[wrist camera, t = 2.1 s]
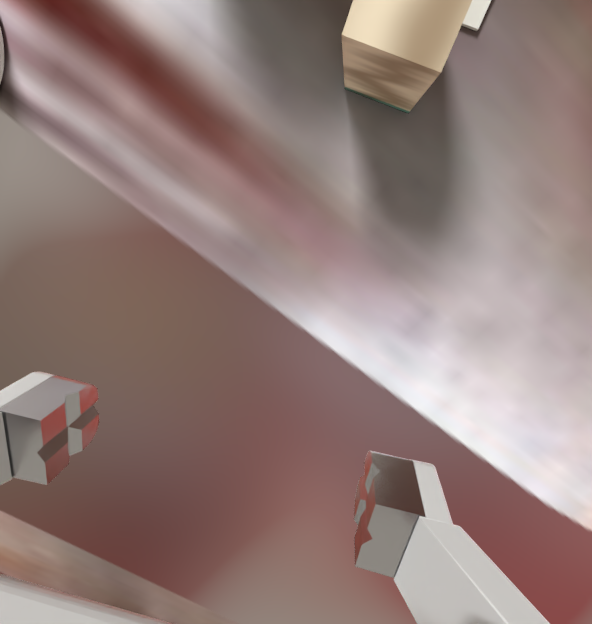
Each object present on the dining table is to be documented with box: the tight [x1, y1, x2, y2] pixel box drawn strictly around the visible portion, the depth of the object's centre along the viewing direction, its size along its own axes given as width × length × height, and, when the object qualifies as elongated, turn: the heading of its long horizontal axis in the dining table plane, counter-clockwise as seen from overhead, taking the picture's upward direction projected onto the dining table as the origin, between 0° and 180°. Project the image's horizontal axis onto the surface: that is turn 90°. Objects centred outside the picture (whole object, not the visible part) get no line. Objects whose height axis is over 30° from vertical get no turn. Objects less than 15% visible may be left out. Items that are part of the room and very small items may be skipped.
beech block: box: [342, 0, 472, 113], centre depth 25 cm, size 6×6×12 cm
